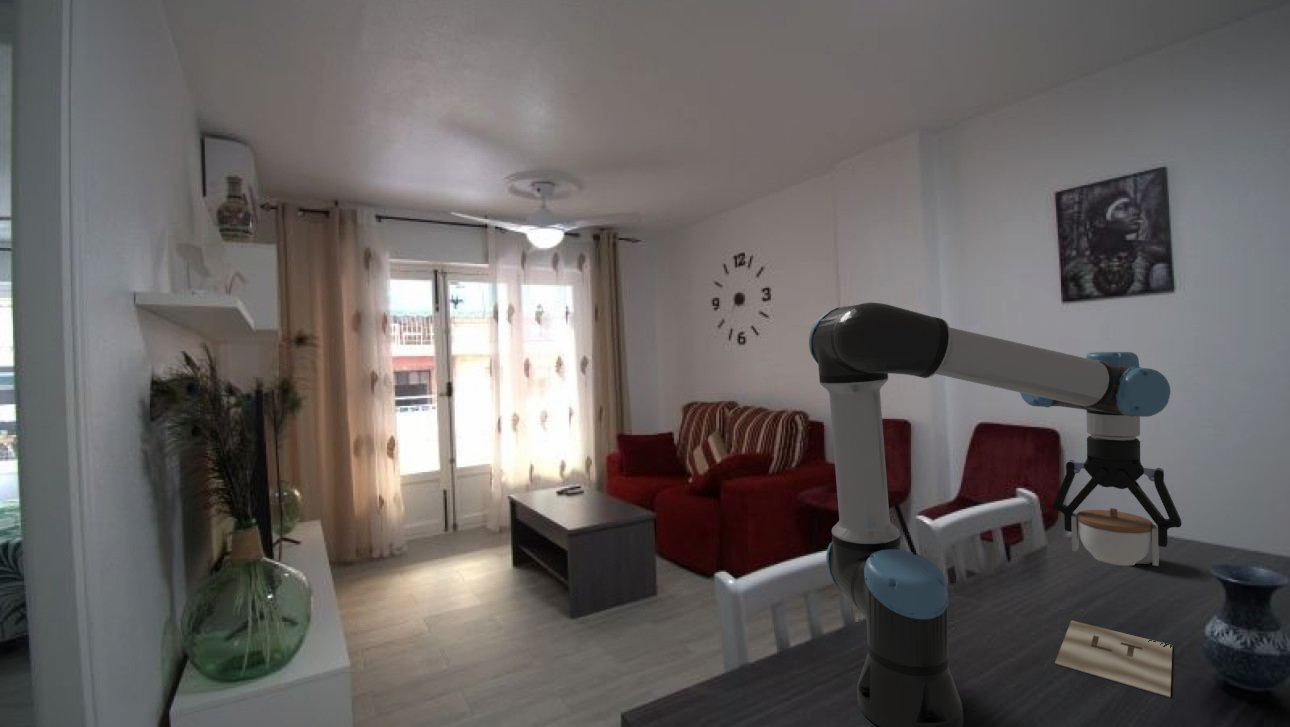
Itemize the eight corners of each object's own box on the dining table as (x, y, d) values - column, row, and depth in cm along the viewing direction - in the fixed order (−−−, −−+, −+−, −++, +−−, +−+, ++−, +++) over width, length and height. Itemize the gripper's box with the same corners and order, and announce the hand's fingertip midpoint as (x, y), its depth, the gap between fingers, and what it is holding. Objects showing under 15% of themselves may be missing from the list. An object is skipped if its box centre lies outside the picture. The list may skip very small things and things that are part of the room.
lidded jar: (1168, 572, 98) (1168, 518, 97) (1097, 569, 100) (1097, 516, 100) (1128, 550, 108) (1128, 501, 108) (1065, 548, 110) (1065, 500, 110)
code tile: (1170, 697, 90) (1170, 696, 90) (1054, 663, 100) (1054, 662, 100) (1172, 646, 104) (1172, 644, 104) (1071, 621, 115) (1071, 620, 115)
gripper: (1201, 439, 98) (1202, 565, 99) (1040, 428, 114) (1041, 537, 115) (1202, 445, 93) (1203, 578, 93) (1032, 433, 109) (1034, 547, 109)
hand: (1113, 555), depth 104 cm, fingers closed on lidded jar, 11 cm apart
